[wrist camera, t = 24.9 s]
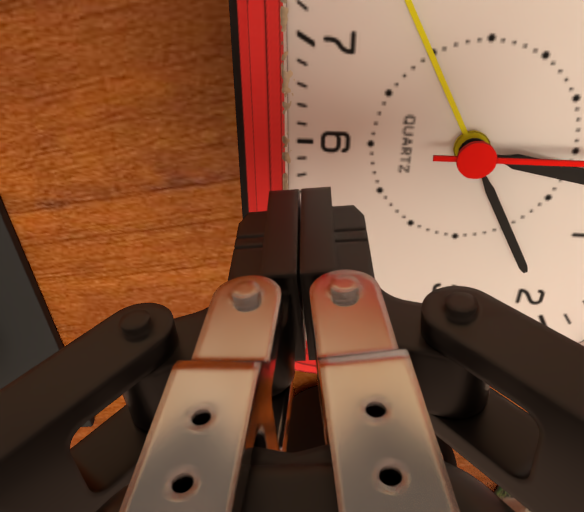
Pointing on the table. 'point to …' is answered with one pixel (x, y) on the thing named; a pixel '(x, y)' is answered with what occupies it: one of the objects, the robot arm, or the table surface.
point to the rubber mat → (21, 312)
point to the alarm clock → (427, 137)
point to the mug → (310, 427)
